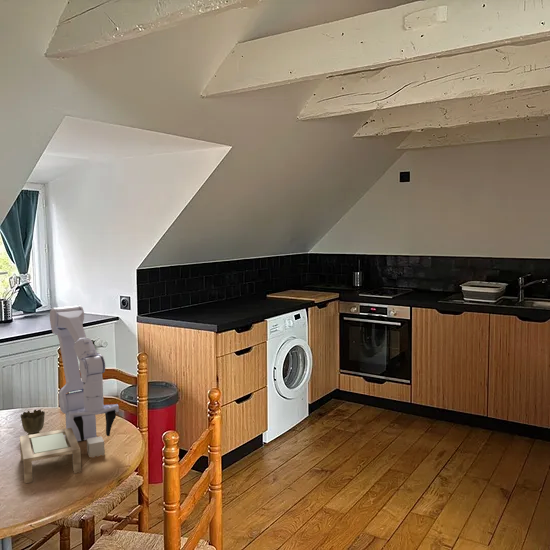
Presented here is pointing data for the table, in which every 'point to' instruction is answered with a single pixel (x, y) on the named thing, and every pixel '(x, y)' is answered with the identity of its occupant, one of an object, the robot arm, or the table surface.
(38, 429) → the cup
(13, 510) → the table surface
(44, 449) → the flap
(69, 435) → the stand
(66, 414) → the robot arm
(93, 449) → the beige cube
